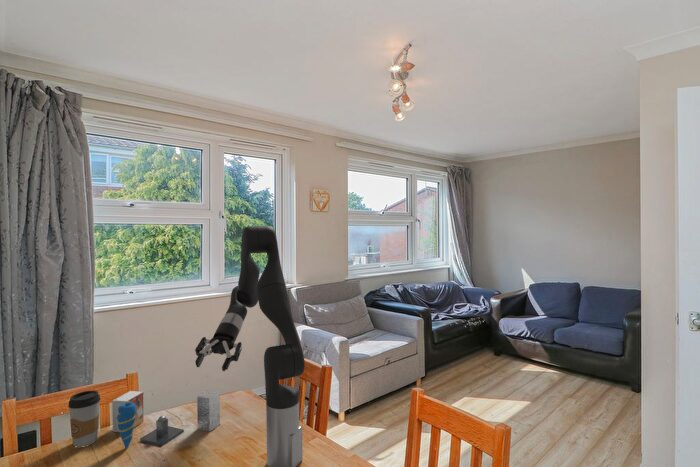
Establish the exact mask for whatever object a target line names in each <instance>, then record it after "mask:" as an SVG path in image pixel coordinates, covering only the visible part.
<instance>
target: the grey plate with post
mask: <svg viewBox="0 0 700 467" xmlns="http://www.w3.org/2000/svg"><path fill="white" fill-rule="evenodd" d="M155 422H156V423H155V424H156V425H155V426H156V428H155V429H154V430H152V431H150V432H148V433H147V434H145V435H143V436H142V437H140V438H139V442H141V443H146V444H149V445H154V446H158V447H163V446H165V445H167V444H168V443H170V442H171V441H173V440H174V439H176V438H177V437H179V436H180V435H182V434H183V433H184V432H185V430H184V429H182V428H178V427H173V426H169V418H167V417H166V416H165V415H161V416H159V418H158V419H157V420H156V421H155Z"/></svg>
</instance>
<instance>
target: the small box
mask: <svg viewBox="0 0 700 467" xmlns="http://www.w3.org/2000/svg"><path fill="white" fill-rule="evenodd" d="M128 399H129V400H128ZM126 401H129V402H132V403H134V404H135V405H136V413H135V417H136V418H135V421H134V428H136V427H137V426H139V425H141V424H143V422H144V420H145V419H144V417H145V416H144V392H143V391H135V390H134V391H133V390H129V391H127V392H126V393H124V394H122V395H120V396H118V397H117V398H114V399H113V400H111V403H112V404H111V405H112V407H111V408H112V413H111V414H112V432H113V433H115V432H116V433H120V429H119V427H118V424H119V422H118V420H117V416H118V414H119V412H118V408H119V406H120V405H122V404H124V403H126Z"/></svg>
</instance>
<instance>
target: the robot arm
mask: <svg viewBox="0 0 700 467" xmlns="http://www.w3.org/2000/svg"><path fill="white" fill-rule="evenodd" d="M264 253H265V254H266V255H267V261H266V262H267V263H266V264H265V267H264V269H263V271H262V273H261V272H260V268H259V267H258V265H257V263H256V262H255V261H254V259H253V258H252V256H251V254H264ZM260 273H261V275H260ZM288 293H289V292H288V288H287V285H286V281H285V278H284V272H283V270H282V264H281V259H280V252H279V244H278V238H277V234H276V231H275V228H274V227H273V226H272V225H248V226H245V227H244V229H243V230H242V234H241V243H240V272H239V277H238V281H237V286H234V287H233V288H232V290H231V293H230V301H229V306H228V308H227V310H226V312H225V314H224V316H223V318H222V319H221V321H220V322H219V324H218V326H217V328H216V330H215V332H214V334H213V337H212V338H210V339H207V338H206V336H203V337H202V338H201V339H200V341H199V343H198V345H196V347H195V349H194V351H195V355H196V356H197V357H196V359H195V366H196V368H201V365H202V363H203V361H204V359H205V358H206V357H207V356H210V355H211V354H215V355H216V354H217V355H225V356H226V358H225V359H224V362H223V363H222V366H221V370H222V372H226V371H227V370H229V367H230V365H231V363H232V362H238V361H239V358H240V356H241V353H242V349H243V344H242V342H240V341H239V342H237V343H236V341H237V338H238V336H239V334H240V333H241V330H242V327H243V324H244V321H245V319H246V317H247V315H248V308H249V309H251V308H254V307H255V306H257V304H258V307H259V309H260V310H261V312H262V314H264V316H265V317H266V318H267V319H268V320H269V321H270V322H271V323H272V324H273V325H274V326H275V327H276V328H277V330H278V331H279V332H280V334H281V336H282V338H283V341H284V343H285V344H280V345H274V346H269V347H267V348H266V349H265V351H264V356H263V368H264V380H265V382H264V386H265V387H264V388H265V398H266V399H265V400H266V402H265V404H266V405H265V407H266V410H265V411H266V413H265V414H266V420H265V423H266V465H267V467H298V465H299V464H300V463H301V461H302V460H303V454H304V453H303V452H304V451H303V426H301V425H300V393H299V390H298V389H297V388H296V387H293V386H290V385H286V384H282V383H280V380H285V379H290V378H291V379H292V378H294V377H295V378H296V377H300V376H302V375H303V374H304V372H305V369H306V368H305V367H306V363H305V355H304V352H303V348H302V344H301V342H300V339H299V334H298V332H297V328H296V325H295V321H294V317H293V313H292V309H291V302H290V297H289V294H288ZM233 349H234V350H235V351H234V354H231V351H232V350H233Z"/></svg>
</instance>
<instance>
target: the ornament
mask: <svg viewBox="0 0 700 467" xmlns="http://www.w3.org/2000/svg"><path fill="white" fill-rule="evenodd" d="M128 400H129V399H128ZM118 412H119V414H118V416H117V420H118V422H119V424H118V427H119V429H120V432H119V437H120V438H121V441H122V443H123V446H124V448H125V449H128V448H129V446H130V444H131V442H132V439H133V436H134V434H133V433H134V421H135V418H136V417H135V413H136V405H135V404H134V403H132V402H129V401H126V403H124V404H122V405H120V406H119V408H118Z"/></svg>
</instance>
